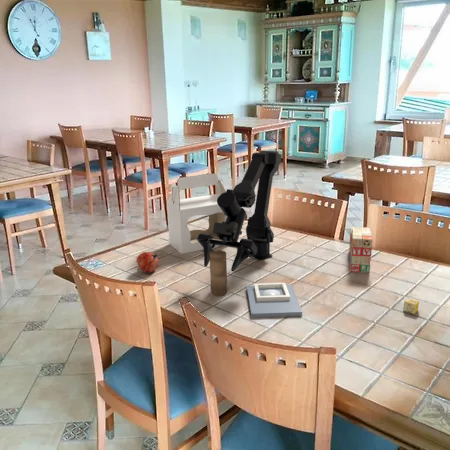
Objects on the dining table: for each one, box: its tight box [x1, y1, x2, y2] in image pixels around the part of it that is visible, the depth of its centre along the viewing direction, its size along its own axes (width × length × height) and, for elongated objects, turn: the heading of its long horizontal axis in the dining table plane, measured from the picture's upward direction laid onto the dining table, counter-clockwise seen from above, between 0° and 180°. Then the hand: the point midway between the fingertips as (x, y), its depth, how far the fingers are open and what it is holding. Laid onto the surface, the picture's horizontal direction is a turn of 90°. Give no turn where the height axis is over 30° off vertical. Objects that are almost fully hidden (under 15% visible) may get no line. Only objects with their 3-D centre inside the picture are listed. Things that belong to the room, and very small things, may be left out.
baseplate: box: [246, 282, 303, 318], centre depth 135 cm, size 18×14×2 cm
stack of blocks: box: [348, 226, 373, 273], centre depth 162 cm, size 21×6×12 cm, turn 167°
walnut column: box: [209, 249, 228, 297], centre depth 140 cm, size 5×5×13 cm
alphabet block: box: [403, 298, 420, 315], centre depth 128 cm, size 3×3×3 cm
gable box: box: [166, 172, 227, 255], centre depth 180 cm, size 22×13×28 cm, turn 118°
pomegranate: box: [136, 251, 160, 274], centre depth 158 cm, size 7×7×10 cm
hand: (218, 268), depth 140 cm, fingers open, 9 cm apart
